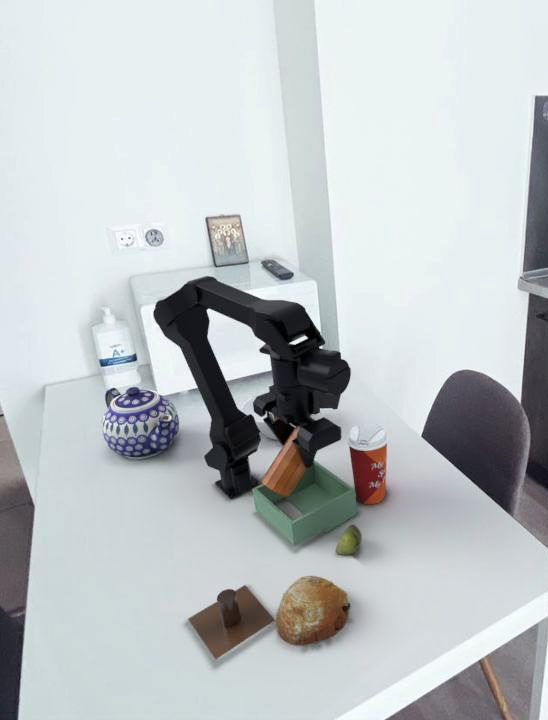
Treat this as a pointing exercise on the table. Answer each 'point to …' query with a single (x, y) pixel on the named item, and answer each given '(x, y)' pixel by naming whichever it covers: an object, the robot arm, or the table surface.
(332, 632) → the bread roll
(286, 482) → the slatted orange pencil cup
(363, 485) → the paper cup
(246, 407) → the bowl
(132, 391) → the teapot
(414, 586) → the table surface
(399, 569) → the table surface
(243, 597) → the stand
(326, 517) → the bin
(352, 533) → the lime
